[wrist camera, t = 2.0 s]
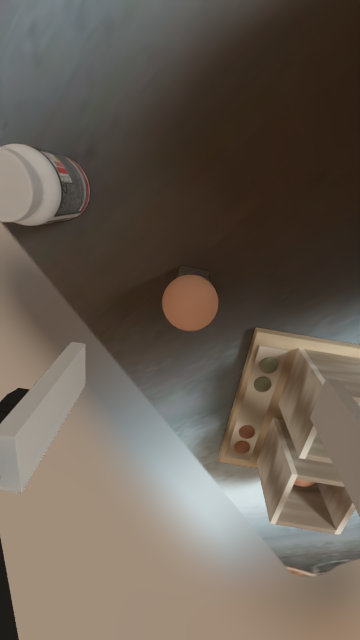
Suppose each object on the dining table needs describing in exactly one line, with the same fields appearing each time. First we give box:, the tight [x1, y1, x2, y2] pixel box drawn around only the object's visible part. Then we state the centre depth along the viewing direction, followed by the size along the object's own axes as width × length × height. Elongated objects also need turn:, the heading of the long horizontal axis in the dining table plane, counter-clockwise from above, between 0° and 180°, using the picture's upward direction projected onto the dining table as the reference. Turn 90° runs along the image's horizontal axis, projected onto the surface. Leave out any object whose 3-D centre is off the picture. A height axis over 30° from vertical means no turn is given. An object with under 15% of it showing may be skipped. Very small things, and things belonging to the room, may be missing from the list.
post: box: [177, 266, 210, 282], centre depth 29 cm, size 3×3×5 cm
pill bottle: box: [0, 144, 90, 226], centre depth 24 cm, size 6×6×10 cm
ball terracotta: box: [162, 275, 218, 331], centre depth 25 cm, size 5×5×5 cm
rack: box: [219, 327, 360, 535], centre depth 33 cm, size 20×14×9 cm
